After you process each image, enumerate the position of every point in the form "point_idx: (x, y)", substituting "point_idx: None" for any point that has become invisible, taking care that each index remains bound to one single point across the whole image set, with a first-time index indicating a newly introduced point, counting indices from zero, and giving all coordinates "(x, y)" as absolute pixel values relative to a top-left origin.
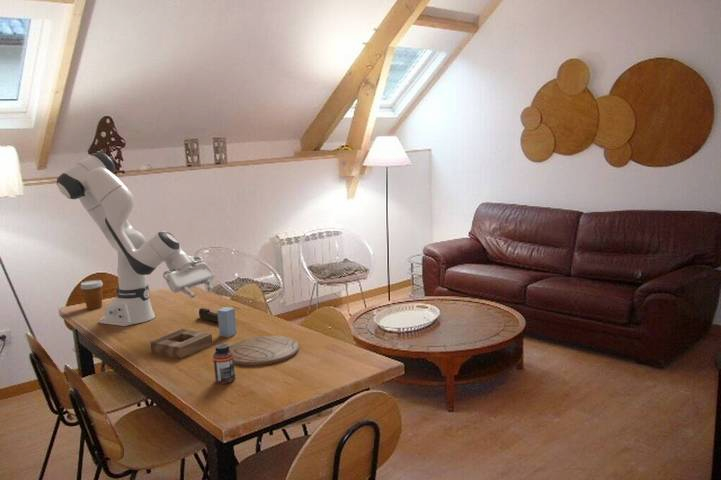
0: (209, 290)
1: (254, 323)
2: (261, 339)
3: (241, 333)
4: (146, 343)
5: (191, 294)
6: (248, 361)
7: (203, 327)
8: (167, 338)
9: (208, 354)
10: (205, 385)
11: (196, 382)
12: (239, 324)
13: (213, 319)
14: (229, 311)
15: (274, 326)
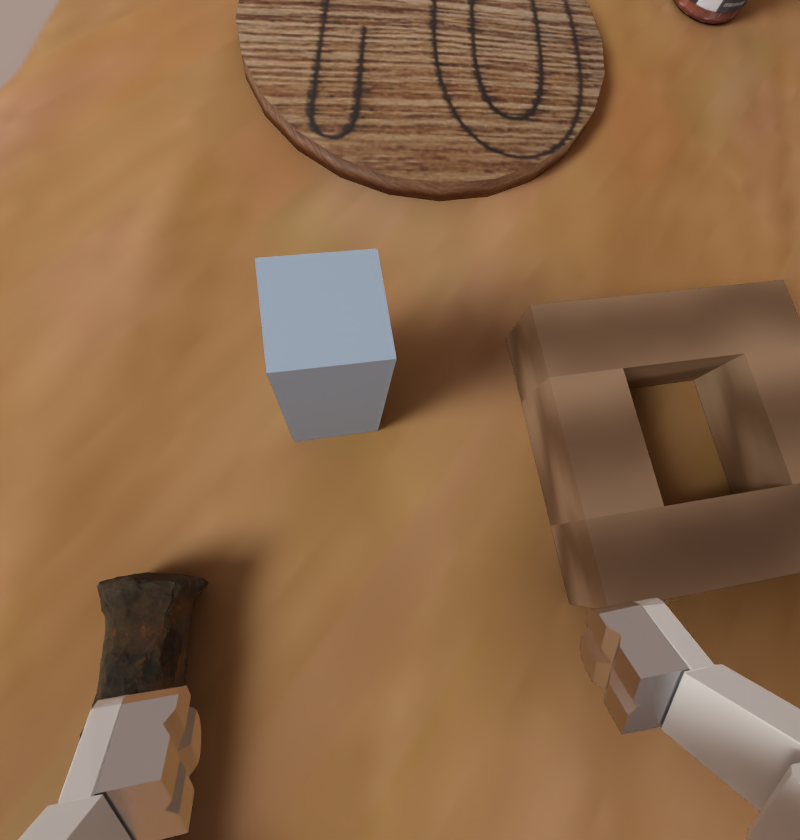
0: (193, 721)
1: (48, 414)
2: (339, 100)
3: None
4: None
5: (672, 628)
6: None
7: (316, 718)
8: (780, 504)
9: (605, 244)
10: (774, 30)
11: (787, 72)
12: (118, 501)
13: None
14: (331, 260)
15: (51, 244)
